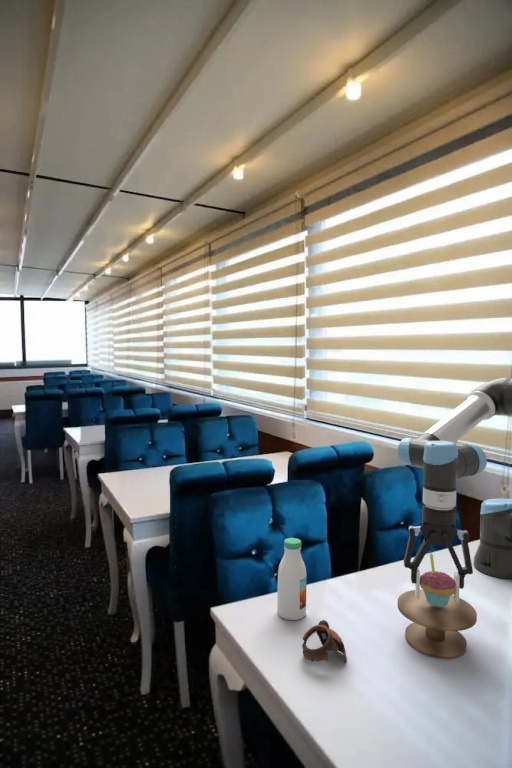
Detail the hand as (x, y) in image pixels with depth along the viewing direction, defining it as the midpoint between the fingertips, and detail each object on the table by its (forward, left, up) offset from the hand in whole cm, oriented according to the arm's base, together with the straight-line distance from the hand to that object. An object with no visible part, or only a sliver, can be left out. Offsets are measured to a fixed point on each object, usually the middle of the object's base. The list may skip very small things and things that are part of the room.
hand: (436, 598), depth 117 cm
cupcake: (0, 0, -1) cm, 1 cm away
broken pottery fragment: (+26, +13, -11) cm, 31 cm away
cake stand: (0, 0, -11) cm, 11 cm away
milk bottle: (+36, -4, -11) cm, 38 cm away
